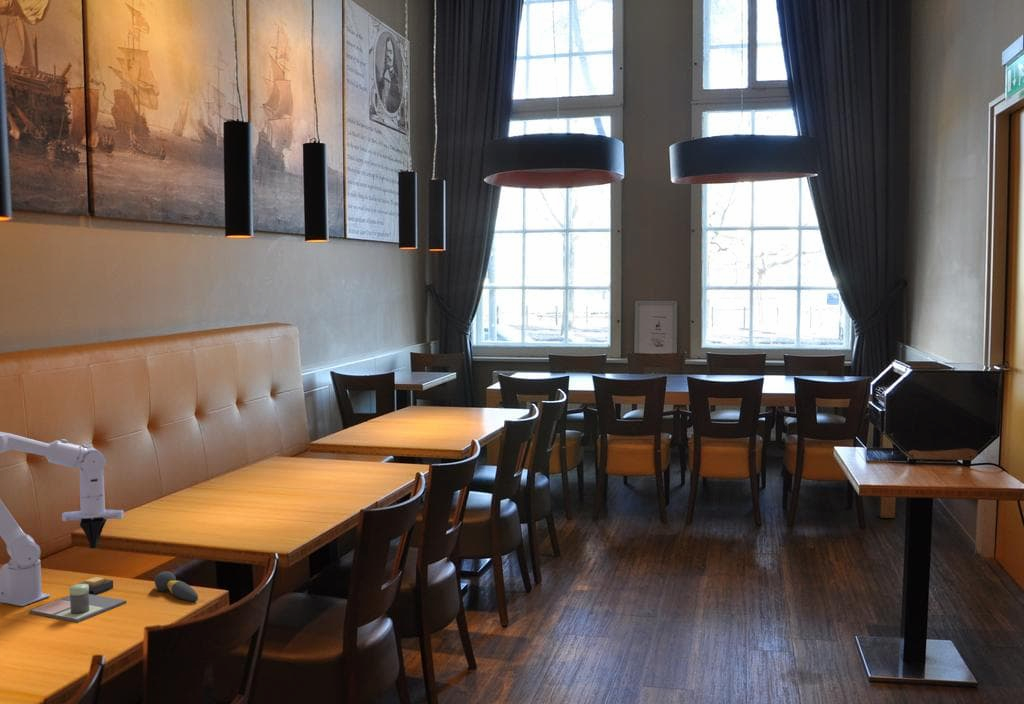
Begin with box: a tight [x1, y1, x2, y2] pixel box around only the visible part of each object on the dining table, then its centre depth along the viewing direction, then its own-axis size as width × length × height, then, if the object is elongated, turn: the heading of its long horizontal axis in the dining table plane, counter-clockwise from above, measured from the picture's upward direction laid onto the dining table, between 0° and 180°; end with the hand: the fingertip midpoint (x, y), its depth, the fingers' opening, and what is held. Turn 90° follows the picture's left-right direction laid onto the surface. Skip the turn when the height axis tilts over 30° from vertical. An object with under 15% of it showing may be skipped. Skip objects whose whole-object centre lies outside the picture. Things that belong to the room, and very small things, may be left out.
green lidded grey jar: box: [68, 583, 89, 614], centre depth 210 cm, size 4×4×6 cm
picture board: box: [28, 594, 127, 623], centre depth 215 cm, size 16×14×1 cm
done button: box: [84, 576, 105, 586], centre depth 228 cm, size 3×3×2 cm
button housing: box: [78, 578, 114, 595], centre depth 228 cm, size 6×6×2 cm
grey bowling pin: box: [154, 571, 199, 602], centre depth 225 cm, size 20×5×5 cm, turn 54°
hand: (94, 547), depth 230 cm, fingers closed
